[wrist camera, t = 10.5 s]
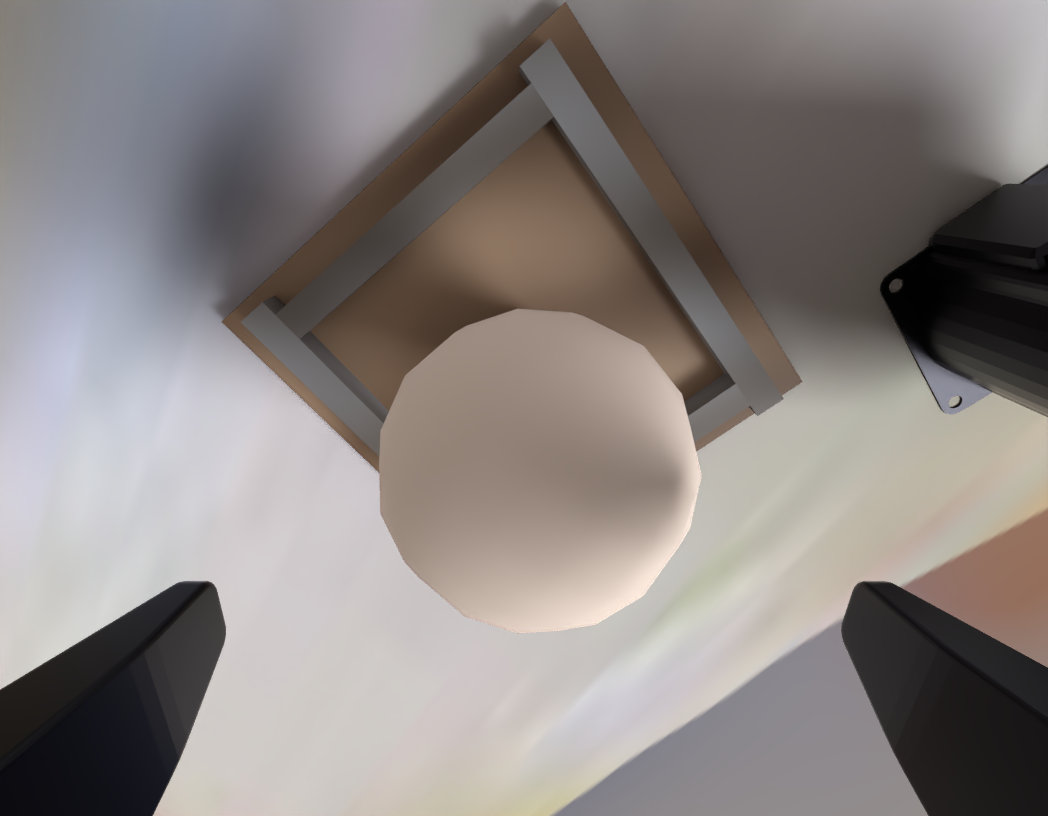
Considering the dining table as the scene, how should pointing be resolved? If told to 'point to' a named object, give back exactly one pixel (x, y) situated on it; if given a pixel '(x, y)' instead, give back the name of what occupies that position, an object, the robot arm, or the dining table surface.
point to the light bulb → (538, 471)
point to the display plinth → (516, 252)
